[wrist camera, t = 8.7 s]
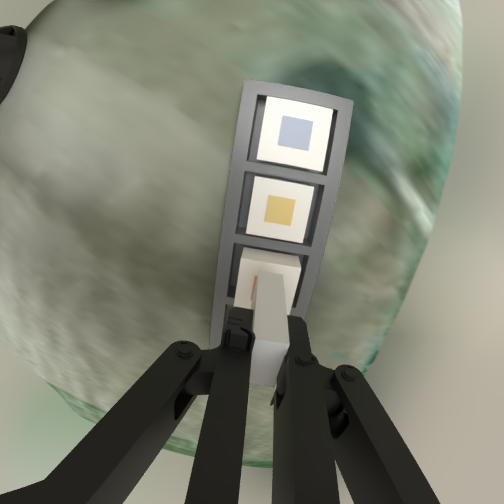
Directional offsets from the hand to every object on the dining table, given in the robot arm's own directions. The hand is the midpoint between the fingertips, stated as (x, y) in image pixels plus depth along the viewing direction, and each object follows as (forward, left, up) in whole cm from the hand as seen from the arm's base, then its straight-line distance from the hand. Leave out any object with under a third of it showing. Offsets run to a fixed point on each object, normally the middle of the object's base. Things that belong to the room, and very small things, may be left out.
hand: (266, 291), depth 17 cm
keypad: (0, +1, -10) cm, 10 cm away
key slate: (0, +10, -7) cm, 12 cm away
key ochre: (0, +4, -9) cm, 10 cm away
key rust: (0, -2, -7) cm, 8 cm away
